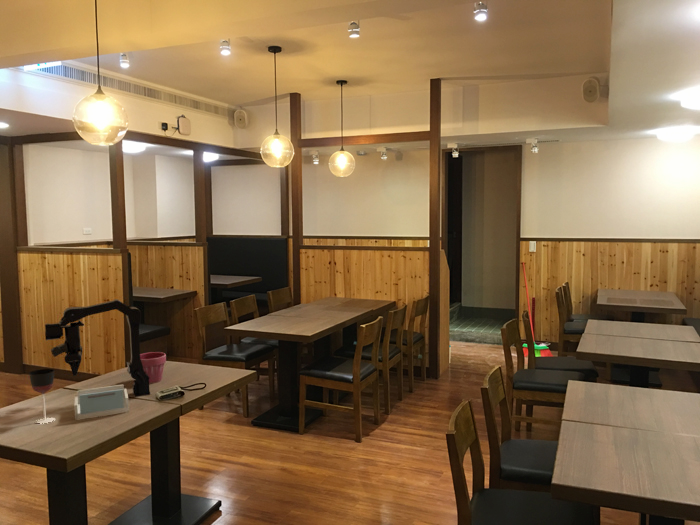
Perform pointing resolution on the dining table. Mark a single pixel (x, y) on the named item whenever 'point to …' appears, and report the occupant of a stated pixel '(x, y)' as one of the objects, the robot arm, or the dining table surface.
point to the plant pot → (153, 365)
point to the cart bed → (101, 413)
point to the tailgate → (101, 401)
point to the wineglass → (42, 387)
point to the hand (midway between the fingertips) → (75, 372)
